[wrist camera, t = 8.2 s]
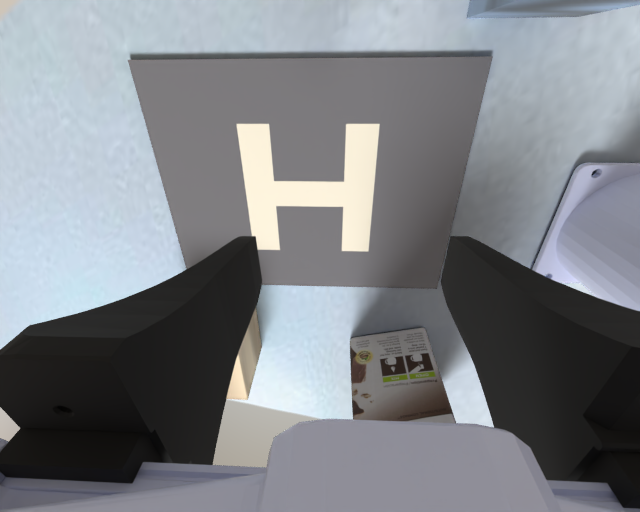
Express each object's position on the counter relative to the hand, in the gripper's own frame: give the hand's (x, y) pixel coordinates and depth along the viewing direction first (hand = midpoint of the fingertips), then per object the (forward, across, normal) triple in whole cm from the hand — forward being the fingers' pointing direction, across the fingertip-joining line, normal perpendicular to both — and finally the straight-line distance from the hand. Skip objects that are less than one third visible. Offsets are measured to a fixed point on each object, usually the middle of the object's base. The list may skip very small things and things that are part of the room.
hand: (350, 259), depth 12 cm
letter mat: (+8, +2, 0) cm, 9 cm away
